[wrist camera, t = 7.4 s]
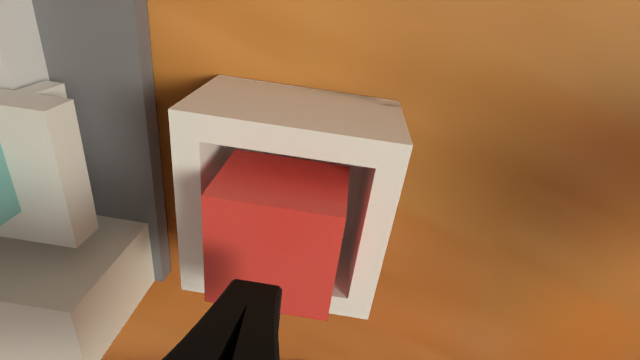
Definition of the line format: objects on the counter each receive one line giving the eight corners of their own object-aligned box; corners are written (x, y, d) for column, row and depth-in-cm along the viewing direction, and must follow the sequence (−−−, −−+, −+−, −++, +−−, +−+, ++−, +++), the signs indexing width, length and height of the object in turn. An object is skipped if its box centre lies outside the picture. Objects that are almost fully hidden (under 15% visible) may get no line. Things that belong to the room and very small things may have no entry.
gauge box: (366, 245, 20) (367, 319, 16) (220, 222, 20) (181, 289, 16) (399, 100, 16) (413, 145, 12) (218, 74, 17) (167, 109, 12)
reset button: (333, 256, 16) (327, 321, 13) (233, 240, 16) (204, 300, 13) (349, 166, 14) (346, 218, 11) (235, 149, 14) (201, 195, 11)
